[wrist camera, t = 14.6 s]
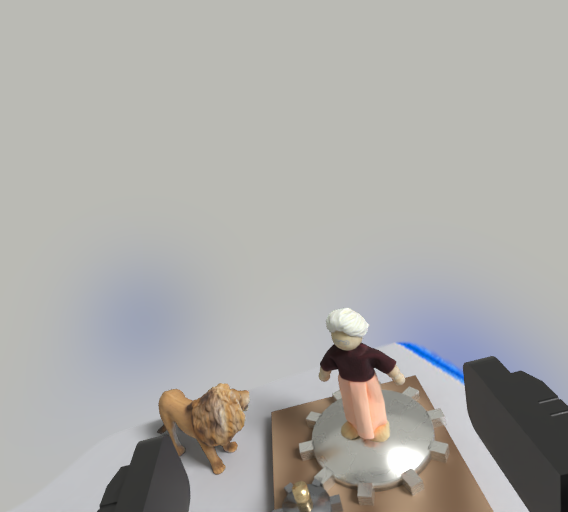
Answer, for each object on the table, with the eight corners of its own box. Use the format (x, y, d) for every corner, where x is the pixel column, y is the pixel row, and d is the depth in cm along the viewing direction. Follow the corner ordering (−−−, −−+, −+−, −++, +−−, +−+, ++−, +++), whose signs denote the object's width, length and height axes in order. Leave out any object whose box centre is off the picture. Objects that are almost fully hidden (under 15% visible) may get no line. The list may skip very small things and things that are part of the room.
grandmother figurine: (328, 447, 38) (292, 327, 34) (333, 416, 41) (301, 303, 37) (416, 446, 35) (390, 317, 31) (414, 413, 39) (390, 292, 35)
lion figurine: (274, 442, 44) (249, 372, 41) (247, 486, 39) (217, 411, 36) (174, 420, 51) (147, 359, 48) (142, 454, 47) (110, 390, 44)
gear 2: (309, 521, 33) (306, 512, 32) (296, 408, 45) (294, 401, 45) (478, 480, 32) (477, 470, 32) (418, 377, 45) (417, 369, 44)
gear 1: (276, 555, 31) (265, 527, 30) (274, 495, 36) (264, 469, 35) (348, 538, 31) (340, 509, 30) (337, 480, 36) (329, 453, 35)
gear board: (282, 589, 30) (276, 576, 30) (275, 422, 46) (271, 412, 46) (501, 537, 30) (500, 523, 29) (417, 386, 46) (415, 375, 45)
